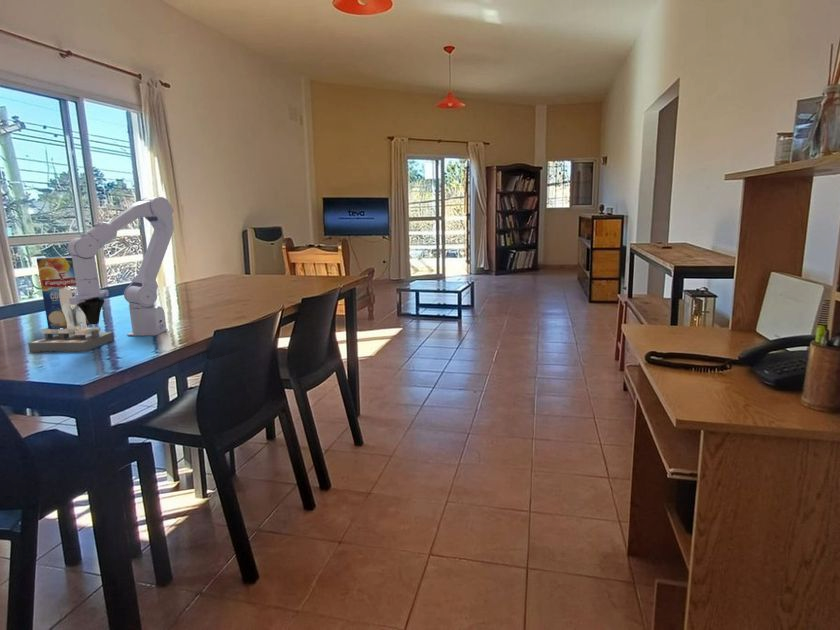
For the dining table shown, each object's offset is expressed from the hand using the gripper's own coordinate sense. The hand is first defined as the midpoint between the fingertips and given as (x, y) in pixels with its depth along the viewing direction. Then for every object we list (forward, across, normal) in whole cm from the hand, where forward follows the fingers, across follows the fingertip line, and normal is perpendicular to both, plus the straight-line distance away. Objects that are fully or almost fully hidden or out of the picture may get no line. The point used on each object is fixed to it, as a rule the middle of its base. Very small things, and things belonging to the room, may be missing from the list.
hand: (94, 323), depth 154 cm
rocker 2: (+2, +3, 0) cm, 3 cm away
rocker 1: (+2, +3, -10) cm, 11 cm away
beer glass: (+6, -14, -16) cm, 22 cm away
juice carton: (+6, -24, -26) cm, 36 cm away
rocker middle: (+2, +3, -5) cm, 6 cm away
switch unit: (+6, +3, -5) cm, 8 cm away
